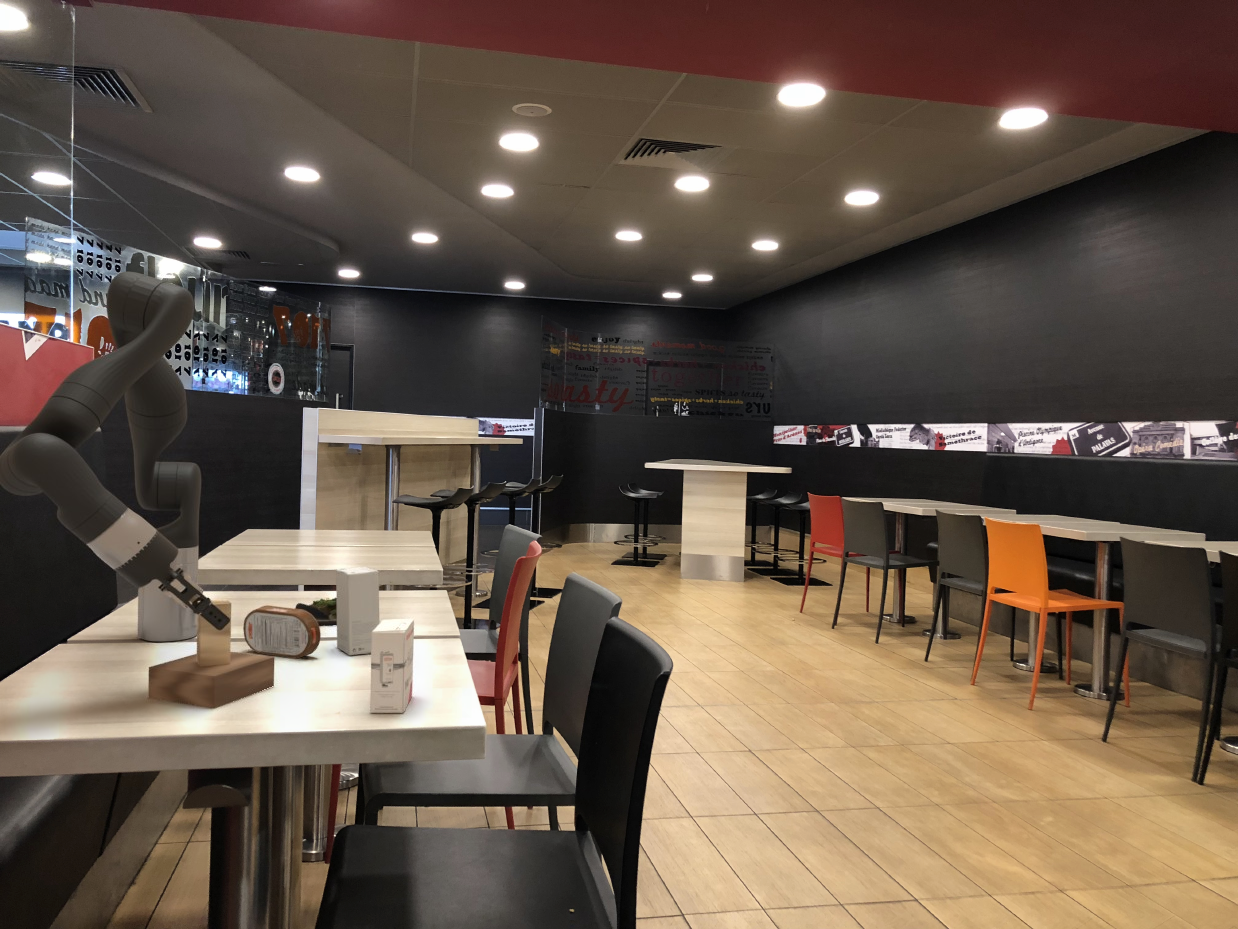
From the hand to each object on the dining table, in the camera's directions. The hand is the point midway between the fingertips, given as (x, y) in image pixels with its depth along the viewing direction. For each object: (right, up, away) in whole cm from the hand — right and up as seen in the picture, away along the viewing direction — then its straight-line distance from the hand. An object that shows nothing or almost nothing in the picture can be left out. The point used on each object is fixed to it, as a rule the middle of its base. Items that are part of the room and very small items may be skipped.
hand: (219, 620), depth 127 cm
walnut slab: (-1, -11, 0) cm, 11 cm away
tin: (0, -11, +23) cm, 25 cm away
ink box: (+27, -12, -4) cm, 30 cm away
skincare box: (+12, -11, +28) cm, 32 cm away
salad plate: (-3, -10, +55) cm, 56 cm away
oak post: (-1, -6, -1) cm, 6 cm away
